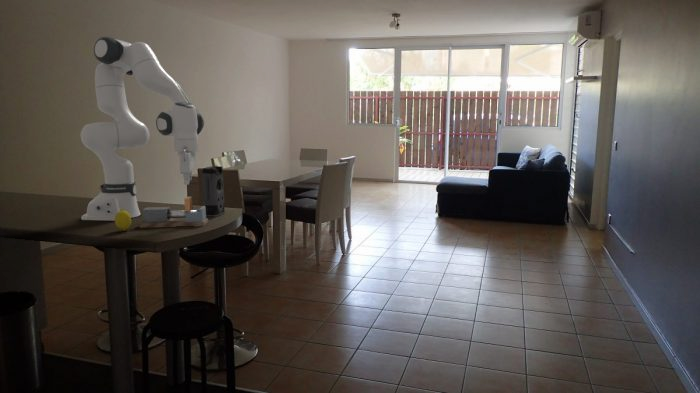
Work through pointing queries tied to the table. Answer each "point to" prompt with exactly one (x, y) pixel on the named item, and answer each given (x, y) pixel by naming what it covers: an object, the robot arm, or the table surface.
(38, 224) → the table surface
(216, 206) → the electronic device
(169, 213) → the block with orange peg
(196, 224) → the bench board
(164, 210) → the outer sleeve
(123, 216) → the lemon
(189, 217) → the socket block
